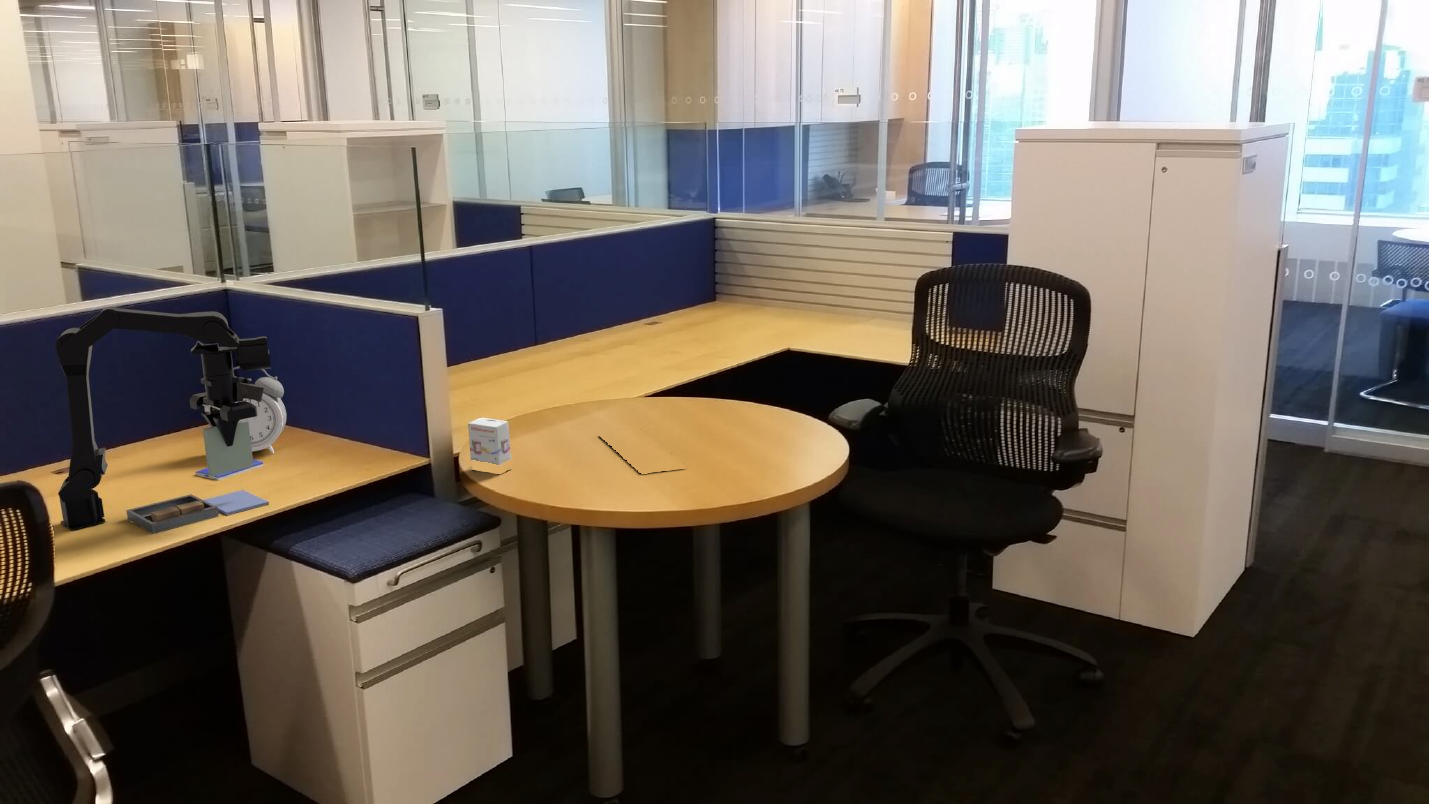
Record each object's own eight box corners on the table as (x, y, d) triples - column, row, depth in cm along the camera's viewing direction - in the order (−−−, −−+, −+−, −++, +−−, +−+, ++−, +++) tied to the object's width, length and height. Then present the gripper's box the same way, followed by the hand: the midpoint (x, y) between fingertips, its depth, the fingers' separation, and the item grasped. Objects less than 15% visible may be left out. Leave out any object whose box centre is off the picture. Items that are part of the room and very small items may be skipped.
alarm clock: (216, 460, 267) (205, 371, 261) (223, 450, 275) (212, 364, 269) (288, 454, 271) (278, 367, 265) (292, 444, 279) (283, 360, 273)
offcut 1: (159, 529, 221) (157, 515, 220) (152, 526, 223) (150, 512, 222) (181, 523, 224) (179, 509, 223) (174, 520, 226) (172, 506, 225)
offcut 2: (183, 523, 225) (181, 509, 224) (178, 519, 227) (176, 505, 226) (205, 517, 228) (203, 504, 227) (200, 514, 230) (198, 500, 229)
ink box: (469, 471, 256) (466, 421, 253) (482, 465, 260) (479, 416, 258) (499, 475, 252) (496, 425, 250) (512, 469, 257) (509, 420, 254)
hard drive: (240, 456, 266) (194, 470, 255) (263, 461, 262) (217, 476, 251) (241, 462, 266) (195, 477, 256) (264, 467, 262) (218, 482, 252)
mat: (227, 515, 228) (227, 512, 228) (201, 502, 236) (201, 500, 236) (268, 504, 235) (268, 501, 235) (242, 492, 243) (242, 489, 242)
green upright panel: (212, 476, 230) (206, 430, 227) (208, 474, 231) (202, 428, 229) (253, 466, 236) (248, 421, 234) (250, 464, 237) (244, 420, 235)
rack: (152, 533, 218) (151, 524, 218) (127, 519, 227) (126, 510, 226) (218, 516, 228) (217, 507, 227) (192, 503, 236) (191, 494, 236)
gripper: (277, 372, 228) (285, 444, 232) (236, 360, 240) (244, 429, 244) (224, 382, 220) (233, 456, 224) (184, 369, 232) (193, 440, 236)
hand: (227, 445), depth 232 cm, fingers closed on green upright panel, 2 cm apart
